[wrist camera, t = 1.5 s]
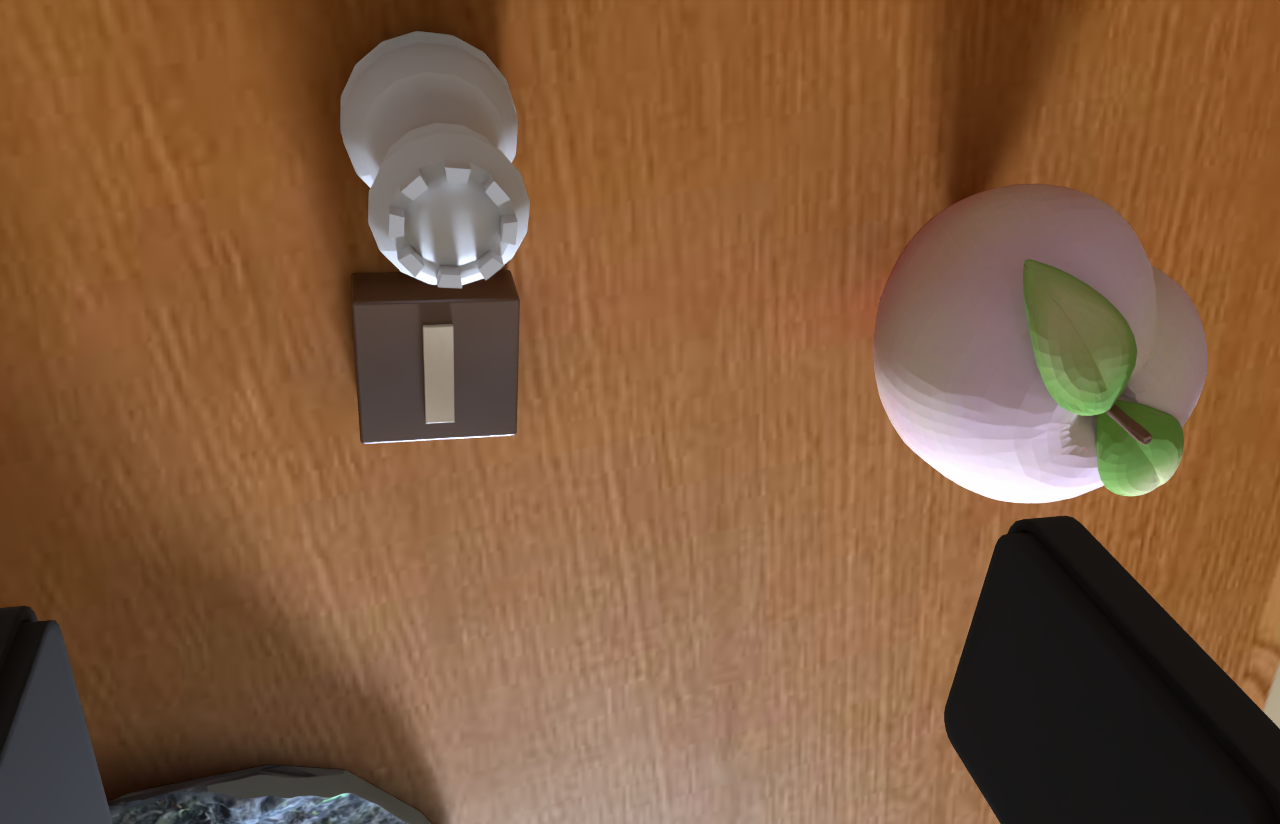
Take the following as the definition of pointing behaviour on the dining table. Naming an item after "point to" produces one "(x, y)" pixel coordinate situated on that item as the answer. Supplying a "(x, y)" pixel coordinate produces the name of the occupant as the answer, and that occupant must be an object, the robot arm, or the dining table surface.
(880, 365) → the decorative fruit
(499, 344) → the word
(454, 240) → the rook chess piece
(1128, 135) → the dining table surface
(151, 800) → the tree stump
